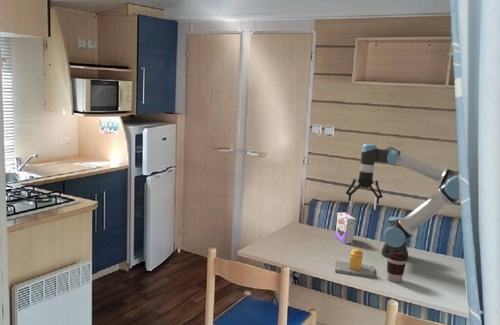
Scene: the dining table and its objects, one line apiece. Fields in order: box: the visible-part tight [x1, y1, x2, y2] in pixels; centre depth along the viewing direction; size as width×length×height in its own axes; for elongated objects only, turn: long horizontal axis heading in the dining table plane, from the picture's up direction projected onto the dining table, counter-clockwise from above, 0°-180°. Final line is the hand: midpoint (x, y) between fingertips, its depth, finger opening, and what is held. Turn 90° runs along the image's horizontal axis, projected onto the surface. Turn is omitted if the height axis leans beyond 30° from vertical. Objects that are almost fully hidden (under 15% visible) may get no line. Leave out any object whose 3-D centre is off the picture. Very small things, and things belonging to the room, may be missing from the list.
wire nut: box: [349, 248, 364, 271], centre depth 257 cm, size 6×6×10 cm
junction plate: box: [334, 260, 376, 279], centre depth 258 cm, size 20×14×8 cm
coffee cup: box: [386, 250, 409, 283], centre depth 248 cm, size 10×10×15 cm
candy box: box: [334, 212, 356, 245], centre depth 307 cm, size 14×6×16 cm, turn 17°
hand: (362, 208), depth 277 cm, fingers open, 13 cm apart
